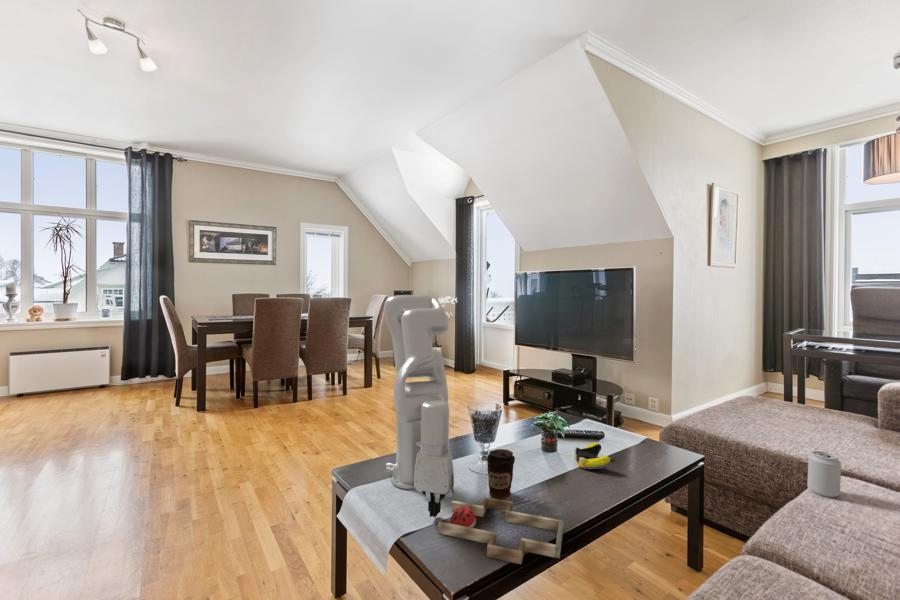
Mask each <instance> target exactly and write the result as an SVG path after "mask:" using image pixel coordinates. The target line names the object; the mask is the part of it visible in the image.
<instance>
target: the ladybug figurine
mask: <svg viewBox="0 0 900 600" xmlns="http://www.w3.org/2000/svg"><path fill="white" fill-rule="evenodd" d="M451 514H452V515H451V516H450V519H449V523H450V524H455V525H460V526H465V527H470V528H474V527H475V525H476V523H477V518H476V517H477V516H475V514H474V512H473V511H472V509H471V508H470V507H468V506H462V507H459V508H458V509H457V510H456V511H455V512H454V511H453V513H451Z"/></svg>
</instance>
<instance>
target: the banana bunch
mask: <svg viewBox="0 0 900 600" xmlns="http://www.w3.org/2000/svg"><path fill="white" fill-rule="evenodd" d="M601 450H602V445H601V444H600V443H598V442H593V443H591V444H589V445H587V446H584V447H583V448H579V447H575V448H574V451H575V454H574V459H575V460H576V462H577V464H578V466H577V467H581V468H582V469H585V470H586V469H587V470H601V469H604V468H606V467H607V466H609V464H610V463H611V461H612V460H611V457H609V456H608V455H604V456H600V457H598V456H599V454H600V452H601Z"/></svg>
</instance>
